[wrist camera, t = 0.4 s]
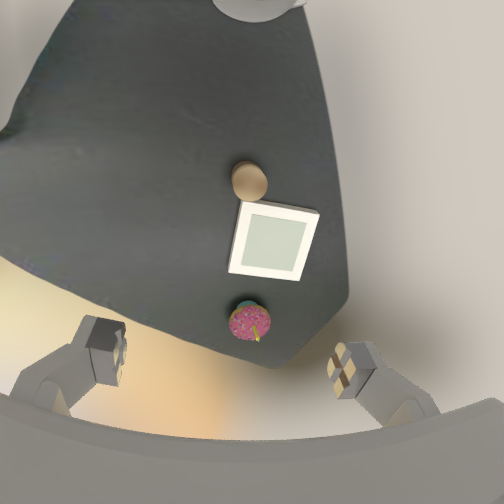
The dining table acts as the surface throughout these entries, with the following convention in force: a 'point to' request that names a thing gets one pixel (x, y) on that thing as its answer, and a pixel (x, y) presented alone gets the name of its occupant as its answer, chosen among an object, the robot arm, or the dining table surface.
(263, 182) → the bread loaf
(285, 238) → the base slab
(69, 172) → the dining table surface
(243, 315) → the cupcake
